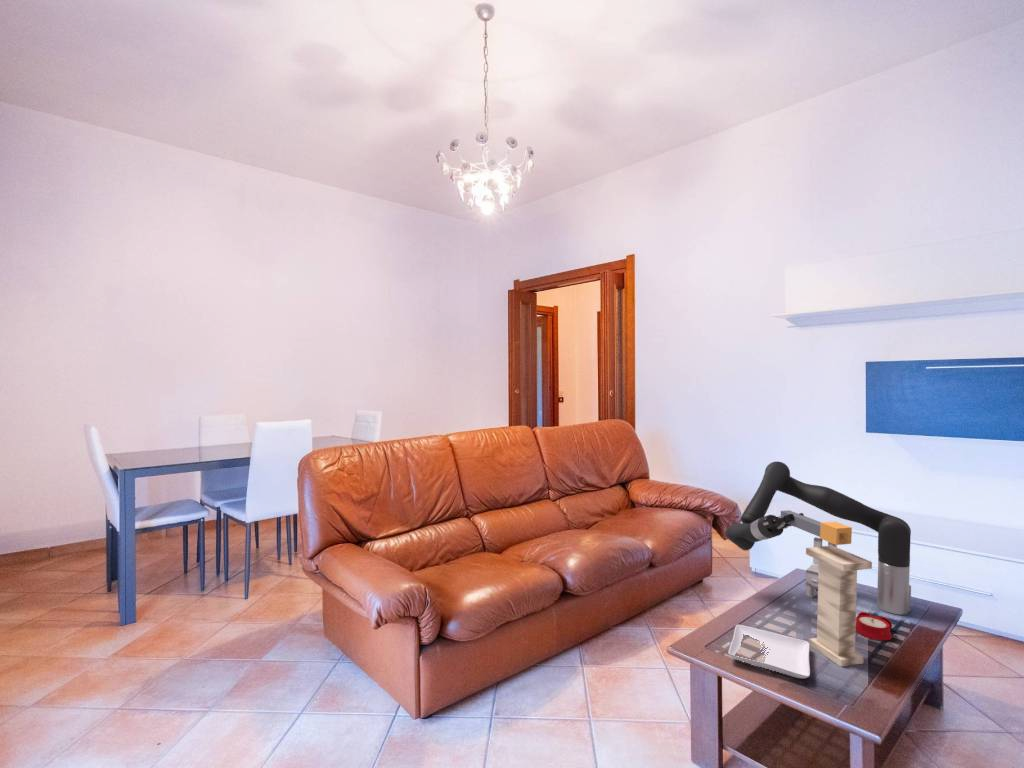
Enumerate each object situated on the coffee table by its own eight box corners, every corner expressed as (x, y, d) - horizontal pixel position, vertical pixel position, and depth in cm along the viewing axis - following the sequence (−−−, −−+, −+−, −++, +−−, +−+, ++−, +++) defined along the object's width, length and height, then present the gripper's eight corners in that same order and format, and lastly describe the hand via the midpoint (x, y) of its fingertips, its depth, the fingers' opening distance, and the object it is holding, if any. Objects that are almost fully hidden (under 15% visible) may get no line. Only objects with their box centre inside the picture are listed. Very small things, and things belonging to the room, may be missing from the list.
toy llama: (803, 597, 194) (804, 546, 194) (815, 584, 207) (817, 535, 206) (825, 604, 189) (827, 551, 188) (837, 589, 201) (838, 540, 201)
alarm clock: (851, 624, 167) (857, 599, 178) (851, 640, 169) (857, 614, 180) (890, 635, 160) (894, 608, 171) (890, 652, 162) (894, 624, 173)
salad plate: (809, 650, 158) (809, 640, 158) (809, 687, 140) (810, 675, 140) (735, 632, 169) (736, 622, 169) (727, 664, 151) (727, 653, 151)
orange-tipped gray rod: (791, 520, 177) (791, 505, 177) (851, 543, 154) (851, 527, 153) (778, 521, 176) (778, 506, 176) (836, 545, 152) (836, 528, 152)
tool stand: (830, 640, 164) (832, 545, 163) (869, 664, 150) (871, 561, 149) (803, 643, 162) (806, 547, 161) (841, 668, 148) (843, 564, 147)
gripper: (746, 518, 186) (776, 506, 171) (779, 516, 189) (811, 504, 174) (752, 539, 182) (784, 529, 167) (786, 536, 185) (820, 526, 170)
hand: (798, 516), depth 171 cm, fingers closed on orange-tipped gray rod, 3 cm apart
